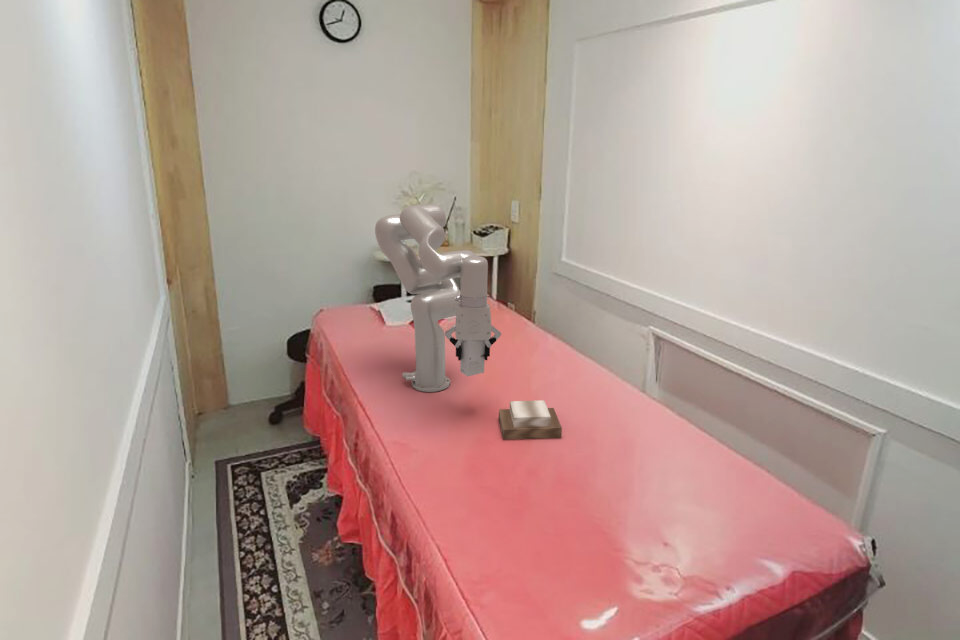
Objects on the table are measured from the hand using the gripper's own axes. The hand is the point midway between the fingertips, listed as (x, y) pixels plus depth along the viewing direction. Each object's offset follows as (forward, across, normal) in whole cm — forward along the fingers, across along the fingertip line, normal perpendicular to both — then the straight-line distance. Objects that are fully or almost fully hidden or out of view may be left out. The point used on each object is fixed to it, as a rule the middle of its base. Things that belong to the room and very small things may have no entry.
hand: (472, 358), depth 169 cm
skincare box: (+5, 0, 0) cm, 5 cm away
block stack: (+16, +16, -12) cm, 26 cm away
